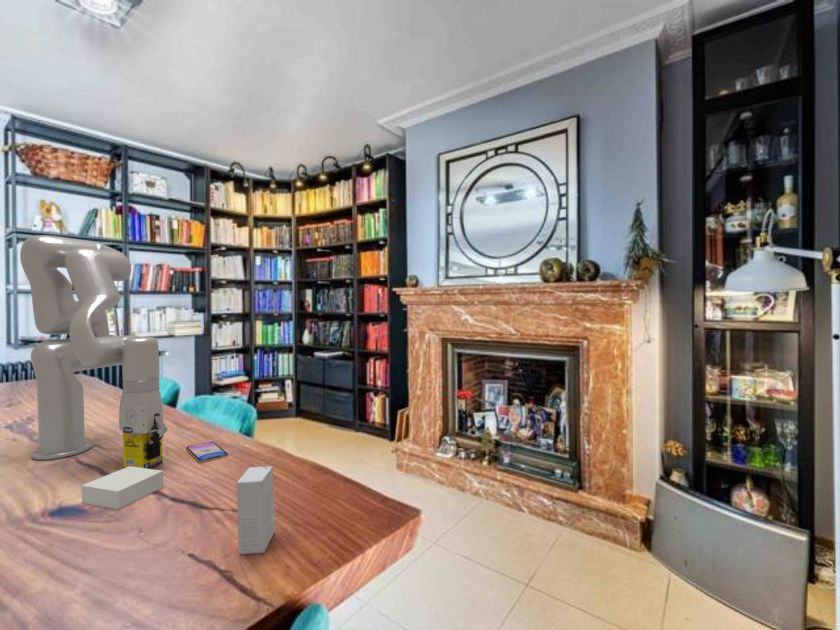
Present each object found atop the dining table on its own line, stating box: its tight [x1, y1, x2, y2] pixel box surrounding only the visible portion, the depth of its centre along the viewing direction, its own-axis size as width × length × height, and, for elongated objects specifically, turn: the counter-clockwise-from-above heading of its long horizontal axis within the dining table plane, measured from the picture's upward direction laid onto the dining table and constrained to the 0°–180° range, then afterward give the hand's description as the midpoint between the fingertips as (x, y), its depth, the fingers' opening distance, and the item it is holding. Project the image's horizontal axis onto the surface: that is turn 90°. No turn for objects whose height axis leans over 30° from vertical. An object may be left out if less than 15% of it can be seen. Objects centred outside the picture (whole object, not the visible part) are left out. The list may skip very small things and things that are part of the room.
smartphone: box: [185, 441, 229, 464], centre depth 108 cm, size 8×15×1 cm, turn 43°
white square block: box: [81, 466, 164, 510], centre depth 84 cm, size 10×10×4 cm
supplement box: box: [122, 426, 164, 469], centre depth 99 cm, size 6×6×11 cm
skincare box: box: [236, 466, 275, 555], centre depth 66 cm, size 6×4×12 cm
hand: (143, 455), depth 99 cm, fingers closed on supplement box, 6 cm apart
